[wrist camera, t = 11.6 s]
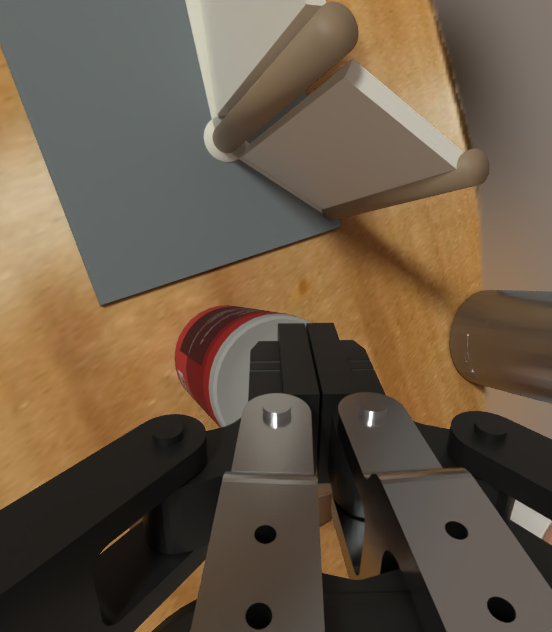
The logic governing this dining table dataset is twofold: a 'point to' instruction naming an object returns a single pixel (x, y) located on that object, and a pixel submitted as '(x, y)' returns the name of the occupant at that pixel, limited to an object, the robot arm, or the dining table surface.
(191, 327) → the canned food
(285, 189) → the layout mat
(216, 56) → the fence panel
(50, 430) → the dining table surface
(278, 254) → the dining table surface
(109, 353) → the dining table surface
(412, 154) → the fence fixed
